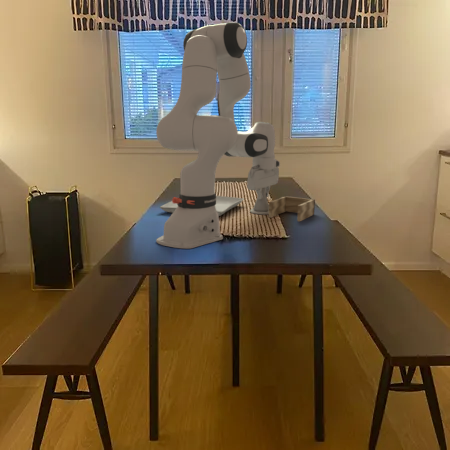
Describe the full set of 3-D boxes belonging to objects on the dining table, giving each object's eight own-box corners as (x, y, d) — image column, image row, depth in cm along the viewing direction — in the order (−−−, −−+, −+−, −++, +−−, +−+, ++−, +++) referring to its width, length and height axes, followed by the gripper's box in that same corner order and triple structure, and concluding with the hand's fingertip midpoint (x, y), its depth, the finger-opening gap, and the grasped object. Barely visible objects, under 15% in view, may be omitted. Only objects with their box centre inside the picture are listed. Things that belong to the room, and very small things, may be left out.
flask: (269, 212, 185) (269, 187, 182) (251, 211, 187) (251, 187, 184) (271, 208, 192) (272, 184, 189) (254, 207, 193) (255, 184, 191)
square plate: (188, 201, 211) (187, 193, 210) (245, 206, 201) (245, 197, 200) (159, 214, 186) (158, 205, 185) (222, 220, 177) (222, 210, 176)
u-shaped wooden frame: (299, 221, 173) (300, 205, 171) (268, 217, 180) (269, 202, 178) (314, 214, 184) (314, 199, 183) (284, 210, 191) (285, 196, 190)
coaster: (267, 215, 182) (267, 214, 182) (245, 212, 187) (245, 211, 187) (279, 210, 190) (279, 209, 190) (257, 208, 195) (257, 206, 195)
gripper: (257, 167, 174) (257, 203, 177) (281, 161, 190) (281, 194, 194) (243, 166, 177) (243, 201, 181) (268, 160, 194) (267, 193, 197)
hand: (262, 197), depth 187 cm, fingers open, 3 cm apart
